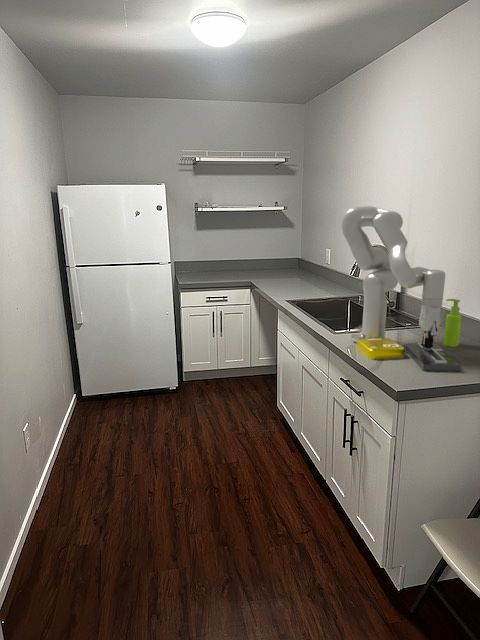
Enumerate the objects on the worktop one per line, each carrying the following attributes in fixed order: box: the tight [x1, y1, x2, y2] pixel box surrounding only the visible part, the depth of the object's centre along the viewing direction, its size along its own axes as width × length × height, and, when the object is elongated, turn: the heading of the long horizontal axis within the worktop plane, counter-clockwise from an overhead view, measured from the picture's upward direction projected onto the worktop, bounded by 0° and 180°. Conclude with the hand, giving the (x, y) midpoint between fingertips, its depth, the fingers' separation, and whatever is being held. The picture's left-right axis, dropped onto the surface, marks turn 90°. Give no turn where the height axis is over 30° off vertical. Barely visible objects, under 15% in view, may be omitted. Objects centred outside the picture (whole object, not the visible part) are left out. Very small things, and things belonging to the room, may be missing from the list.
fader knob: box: [423, 333, 431, 351], centre depth 181 cm, size 3×4×6 cm
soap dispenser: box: [443, 298, 463, 348], centre depth 194 cm, size 6×7×20 cm
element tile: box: [356, 337, 405, 361], centre depth 186 cm, size 15×15×5 cm
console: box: [404, 342, 461, 373], centre depth 177 cm, size 13×24×4 cm, turn 176°
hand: (427, 346), depth 182 cm, fingers closed on fader knob, 2 cm apart
